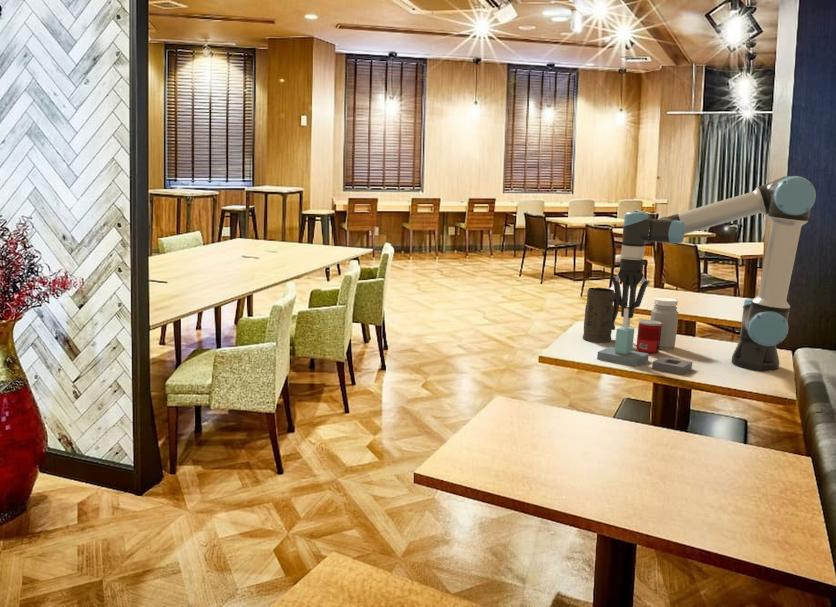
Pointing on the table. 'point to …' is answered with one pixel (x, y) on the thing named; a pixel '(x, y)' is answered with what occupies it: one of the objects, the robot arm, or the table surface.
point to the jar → (666, 320)
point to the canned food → (649, 336)
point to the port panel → (623, 357)
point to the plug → (624, 340)
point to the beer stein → (600, 315)
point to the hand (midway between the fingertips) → (626, 326)
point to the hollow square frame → (672, 365)
